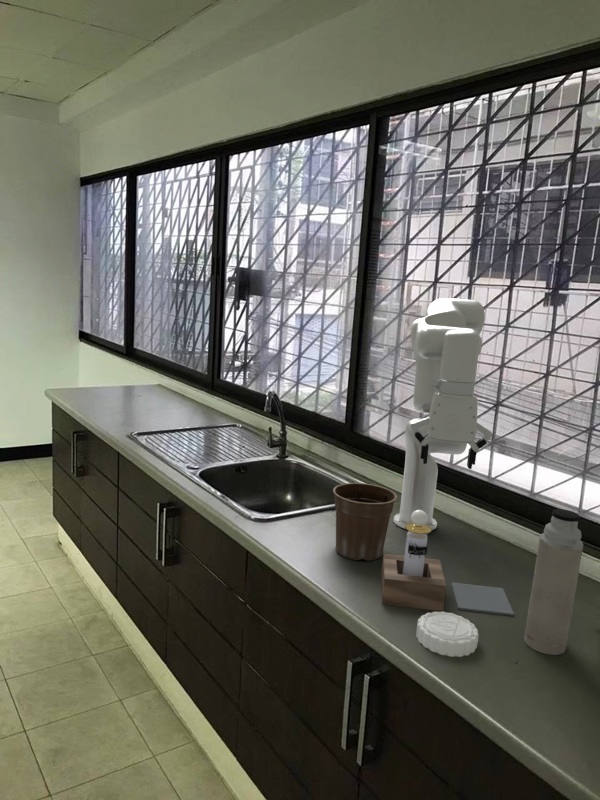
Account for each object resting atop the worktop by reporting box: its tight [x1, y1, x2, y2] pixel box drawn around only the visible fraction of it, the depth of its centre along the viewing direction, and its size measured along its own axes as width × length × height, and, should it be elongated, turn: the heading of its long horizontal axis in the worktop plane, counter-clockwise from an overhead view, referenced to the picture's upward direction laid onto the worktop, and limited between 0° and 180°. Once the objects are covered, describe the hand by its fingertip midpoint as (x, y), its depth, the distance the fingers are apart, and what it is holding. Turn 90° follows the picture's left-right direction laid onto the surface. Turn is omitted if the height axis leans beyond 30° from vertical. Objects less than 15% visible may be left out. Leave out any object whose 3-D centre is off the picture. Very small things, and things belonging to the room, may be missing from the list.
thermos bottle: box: [523, 508, 584, 656], centre depth 129 cm, size 8×8×28 cm
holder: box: [380, 552, 447, 612], centre depth 148 cm, size 13×13×6 cm
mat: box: [450, 582, 515, 617], centre depth 148 cm, size 12×12×1 cm
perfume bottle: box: [402, 510, 432, 577], centre depth 146 cm, size 6×6×20 cm
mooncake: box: [415, 611, 479, 658], centre depth 130 cm, size 12×12×4 cm
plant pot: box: [332, 482, 398, 562], centre depth 167 cm, size 16×16×16 cm
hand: (446, 464), depth 143 cm, fingers open, 9 cm apart
